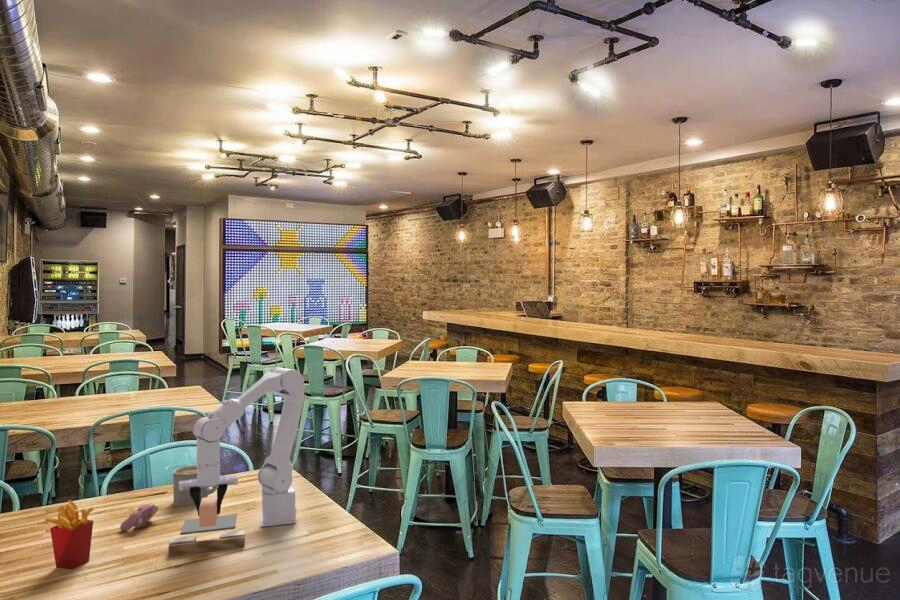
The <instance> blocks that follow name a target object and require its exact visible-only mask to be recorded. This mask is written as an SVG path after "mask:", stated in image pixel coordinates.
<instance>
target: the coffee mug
mask: <svg viewBox="0 0 900 600" xmlns="http://www.w3.org/2000/svg"><path fill="white" fill-rule="evenodd" d="M172 475H173V476H172V477H173V479H172V480H173V485H172V486H173V489H172V490H173V505H174V506H176V507H194V506H196V505H195V503H194V501H193V499H192V497H191V496H190V494H189V492H190V489H184V490H180V491H179V482H180V481H186V480H191V479H197V464H193V465H186V466H181V467H177V468H176V469H174V470H173V474H172ZM217 488H218V486H214V487H212V488H211V487H203V488H201V500H202V498H206V497H209V495H212V494H214V493H215V492H217Z"/></svg>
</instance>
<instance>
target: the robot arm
mask: <svg viewBox="0 0 900 600" xmlns="http://www.w3.org/2000/svg"><path fill="white" fill-rule="evenodd" d="M304 383H305V377H304V376H303V375H302V374H301V372H300V371H299V370H297V369H294V368H286V367H282V366H275V367H273V368H271V369H270V370H269V371H267V372H265V373H264V374H263V375H262V376H261V378H260V379H258V381H256V382H255V383H253V385H251V386H250V387H249V388H248V389H247V390H246V391H245V392H243V393H242V394H241V395H240V396H238V397H237V398H229V399H224V400H223V401H222V404H221V405H220V406H219V407H217V408H215V410H213V411H209V412H208V413H207V416H205V417H200V418H199V419H198V420H197V421H196V422H195V424H194V426H193V428H192V429H191V430H192V434H193V436H195V438H196V465H197V479H191V480H186V481H180V482H179V491H180V490H184V489H190V492H189V494H190V496H191V497H192V499H193V501H194V503H195V505H194V506H195V508H196V511H197V516H198V517H199V507H200V504H201V488H203V487H209V488H211V487H212V488H213V487H214V486H217V489H216V496H217V514H218V515H220V514H221V508H222V503H223V500H224V498H225V495H226V492H227V490H228V486H231V485H233V486H238V484H239V476H238V475H233V476H232V475H221V451H220V450H221V448H220V447H221V446H220V445H221V443H220V441H221V440H220V439H221V438H222V436H224V432H225V430H226V429H228V428H229V427H230V426H232V424H234V423H235V422H236V421H238V420H239V419H240V418H241V417H242V416H244V414H245V409H246V408H247V407H249V406H250V405H252V404H253V403H255V402H256V401H257V400H259V399H260V398H262V397H264V395H266V394H267V393H269V392H278V393H279V394H280V396H281V397H282V399H283V401H284V403H283V407H282V412H281V415H280V419H279V422H278V426H277V428H276V429H277V430H276V433H275V438H274V442H273V444H272V448H271V452H270V455H268V456H267V457H266V458H265V459H264V461H263V462H264V463H263V465H262V467H260V469H259V470H258V473H257V480H258V482H259V484H260V485H261V497H262V498H261V501H262V503H261V505H262V510H261V511H262V514H261V516H260V527H261V528H265V527H274V526H280V525H281V526H282V525H289V524H295V523H296V522H297V521H296V518H297V517H296V515H297V507H296V489H295V488H291V486H292V483H293V474H292V473H293V467H294V466H293V464H292V462H291V459H290V457H291V454H292V451H293V447H294V443H295V439H296V435H297V431H298V427H299V423H300V419H301V415H302V412H303V407H304V404H305V398H306V397H305V396H306V395H305V389H304V388H305V387H304Z"/></svg>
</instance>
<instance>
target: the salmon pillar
mask: <svg viewBox="0 0 900 600" xmlns="http://www.w3.org/2000/svg"><path fill="white" fill-rule="evenodd" d="M218 516H219V514H217V495H216V496H208V497H206V498H202V500H201V504H200V507H199V516H198V518H199V527H207V526H216V523H217V519H218Z"/></svg>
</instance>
